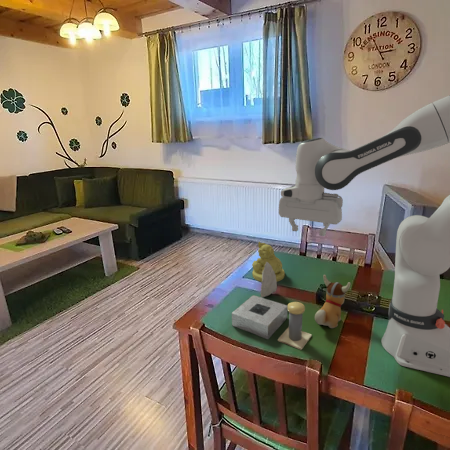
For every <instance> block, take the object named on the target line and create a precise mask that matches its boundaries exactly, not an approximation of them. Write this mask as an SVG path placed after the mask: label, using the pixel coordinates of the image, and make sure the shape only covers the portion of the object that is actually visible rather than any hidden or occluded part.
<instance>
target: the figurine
mask: <svg viewBox="0 0 450 450" xmlns="http://www.w3.org/2000/svg"><path fill="white" fill-rule="evenodd" d="M257 243H258V244H257V246H258V250H257V253H258V256H259V257H258V258H257V259H256V260H254V261H253V262H252V265H251V266H252V269H253V270H252V273H251V274H252V277H253V279H254V280H255V281H258V282H260V283H262V272H263V270H264V268H265V264H266V262H268V263H269V264H270V265H271V266H272V269H273V271H274V272H275V275H276V281H277V283H278V282H280V281H282V280H283V279H284V278H285V276H286V274H285V270H284V269H283V263H282V261H281V259H280V258H278V257H277V256H276V255H275V250H274V248H273V247H272V246H271V245H270V244H267V243H265V242H261V241H258V242H257Z"/></svg>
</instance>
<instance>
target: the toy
mask: <svg viewBox="0 0 450 450" xmlns="http://www.w3.org/2000/svg"><path fill="white" fill-rule="evenodd" d="M323 282H324V284H325V286H326V295H325V298H326V300H325V302H324V304H323V306H322V307H321V308H319V309H318V310H317V311H316V312H315V314H314V320H315V322H316V324H318V325H323V326H326V327H327V326H328V328H330V329H334V328H337V327H338V326H339V324H338V323H339V322H341V320H342V318H341V315H342V309H341V308H342V305H343V304H344V303H345V297H346V293H347V292H348V291H349V290H350V288H351V284H352V283H351V282H347V284H346V285H342V284H341V283H340V282H337V281H336V282H331V281H329V280H328V278H327V275H326V274H323Z"/></svg>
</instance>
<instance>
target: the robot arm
mask: <svg viewBox="0 0 450 450" xmlns="http://www.w3.org/2000/svg"><path fill="white" fill-rule="evenodd" d="M448 144H450V95H447V96H443V97H442V98H439V99H437V100H434V101H433V102H431V103H429V104H426V105H423V107H421V108H419V109H417V110H415V111H414V112H413V113H411V114H409V115H407V116H406V117H405V118H403V119H402V120H401V121H400V122H399V123H398V124H397V125H396V126H395V127H393V128H392V129H391V130H390V131H389V132H387V133H385V134H384V135H382V136H380V137H379V138H377V139H376V138H375V139H374V140H372V141H370V142H368V143H366V144H363V145H361V146H359V147H357V148H355V149H353V150H349V149H346V148H342V147H340V146H336V145H335V144H332V143H331V142H328V141H327V140H326V139H325V138H323V137H315V138H310V139H306V140H303V141H301V142H300V143H299V144H298V146H297V148H296V149H297V150H296V153H295V155H296V156H295V171H296V179H295V185H292V186H289V187H286V188H284V189H282V190H280V195H281V198H280V199H279V203H278V215H279V216H280V218H285V219H286V218H287V219H288V222H289V224H290V226H291V232H296V233H297V232H298V231H299V225H297V224H296V220H299V221H300V220H301V221H307V222H314V223H315V222H316V223H322V226H323V228H321V229H320V230H319V236H322V237H325V236H326V235H327V229H328V228H329V226H331V225H338V224H339V223H340V222H341V221H342V220H343V213H342V212H343V211H342V210H343V209H342V207H343V204H344V202H343V198H342V196H341V195H339V194H338V193H330V192H325V189H326V190H329V191H338V190H341V189H344V188H345V187H347V186H348V185H349V184H350V183H351V182H352V181H353V180H354V179H355V178H356V177H357V176H359V175H360V174H362V173H364V172H366V171H369V170H372V169H374V168H375V167H378V166H380V165H383V164H384V163H387V162H389V161H392V160H394V159H397V158H400V157H404V156H409V155H413V154H418V153H421V152H422V153H423V152H425V151H429V150H433V149H435V148H438V147H443V146H445V145H448ZM394 262H395V263H394V281H393V291H392V298H391V300H390V302H389V307H388V314H387V315H388V322H387V326H386V329H385V331H384V334H383V336H382V337H381V340H380V341H381V345H382V348H383V349H385V351H386V352H387V353H389V354H390V356H392V357H393V358H394V359H395V361H396V363H398V365H400V366H403V367H407V368H410V369H414V370H418V371H419V370H420V371H424V372H427V373H432V374H436V375H440V376H445V377H448V378H450V327H449V325H448V324H446V322H445V314H444V309H441V310H439V309H438V303H439V301H438V300H439V295H440V290H441V279H440V275H442V274H443V273H445V272H446V271H448V270H449V269H450V194H449V195H447V196H446V197H444V199H443V201H442V203H441V204H440V205H439V207H438V208H437V209H436V210H435V211H434V212H433V214H431V215H430V217H427V216H424V215H420V214H415V215H410V216H408V217H406V218H404V219H403V220H402V221H401V222H400V224H399V226H398V228H397V231H396V241H395V259H394Z"/></svg>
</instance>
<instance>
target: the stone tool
mask: <svg viewBox="0 0 450 450" xmlns="http://www.w3.org/2000/svg"><path fill="white" fill-rule="evenodd" d="M277 284H278V282H277V281H276V275H275V272H274V271H273V269H272V266H271V265H270V264H269V263H268V262H266V264H265V268H264V270H263V272H262V282H261V285H260V297H261V298H265V297H268V296H270V295H271V294H273V293H276V292H277V288H278V286H277Z"/></svg>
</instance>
